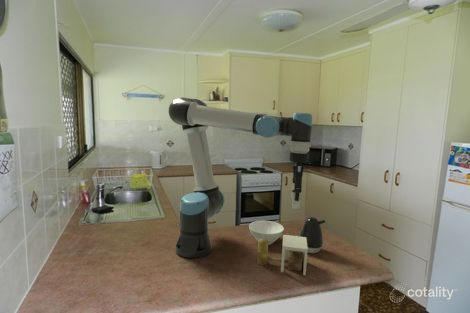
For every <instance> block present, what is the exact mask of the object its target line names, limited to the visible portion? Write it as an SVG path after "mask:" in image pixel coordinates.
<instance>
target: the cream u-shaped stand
mask: <svg viewBox="0 0 470 313" xmlns="http://www.w3.org/2000/svg"><path fill="white" fill-rule="evenodd" d="M299 236H300V235H299ZM299 236H296V235H289V234H282V249H281V259H282V261H281V262H280V263H281V264H280V273H285V271H284V270H285V262H284V259H287V260H288V254H289V251H292V252H300V253H302V275H303V276H306V275H307V263H308V262H307V261H308V253H307V251H308V248H307V240H306V237H299Z"/></svg>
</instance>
